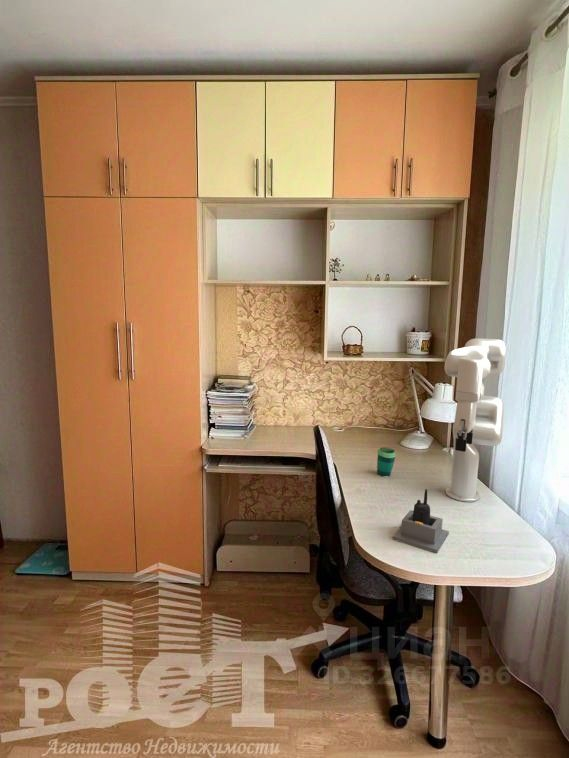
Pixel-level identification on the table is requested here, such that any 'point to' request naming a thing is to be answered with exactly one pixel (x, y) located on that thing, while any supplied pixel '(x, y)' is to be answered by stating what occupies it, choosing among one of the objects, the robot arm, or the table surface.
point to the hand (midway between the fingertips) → (463, 446)
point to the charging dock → (422, 533)
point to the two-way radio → (422, 511)
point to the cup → (385, 461)
